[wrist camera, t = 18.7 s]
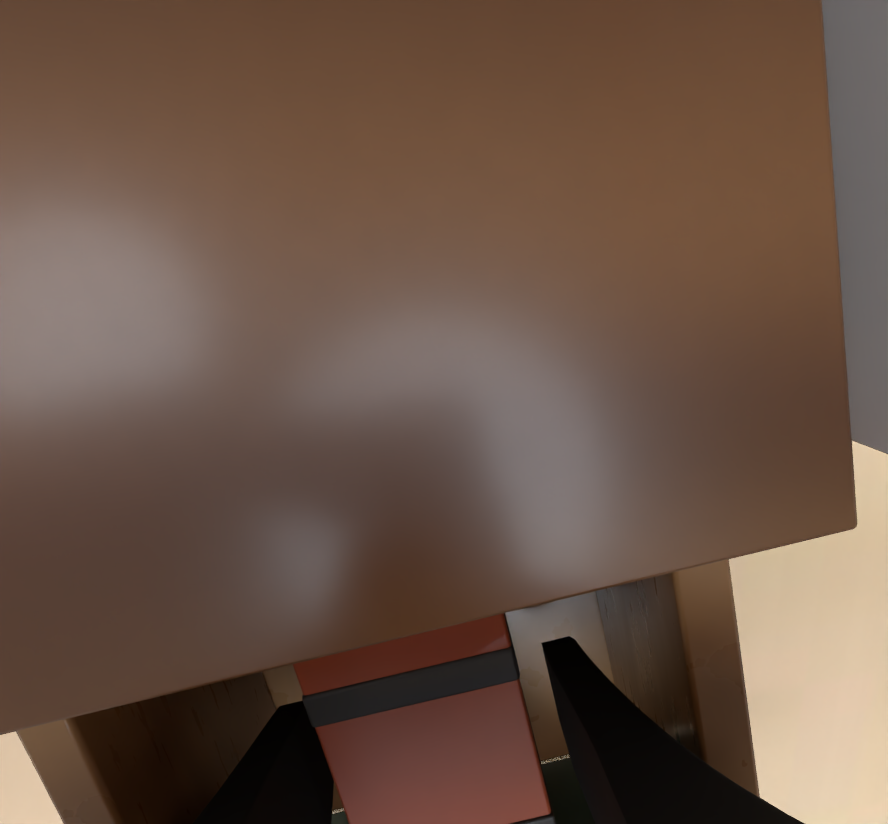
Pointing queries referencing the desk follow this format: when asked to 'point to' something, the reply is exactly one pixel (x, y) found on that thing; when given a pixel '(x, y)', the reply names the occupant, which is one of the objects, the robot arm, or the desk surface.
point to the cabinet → (397, 321)
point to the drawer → (581, 617)
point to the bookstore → (861, 201)
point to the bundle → (429, 729)
